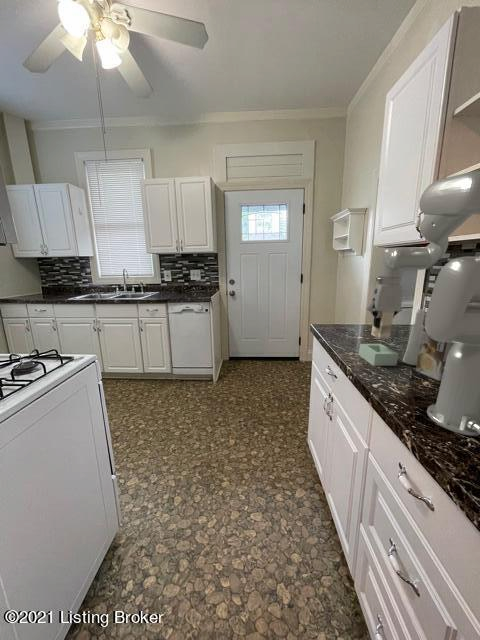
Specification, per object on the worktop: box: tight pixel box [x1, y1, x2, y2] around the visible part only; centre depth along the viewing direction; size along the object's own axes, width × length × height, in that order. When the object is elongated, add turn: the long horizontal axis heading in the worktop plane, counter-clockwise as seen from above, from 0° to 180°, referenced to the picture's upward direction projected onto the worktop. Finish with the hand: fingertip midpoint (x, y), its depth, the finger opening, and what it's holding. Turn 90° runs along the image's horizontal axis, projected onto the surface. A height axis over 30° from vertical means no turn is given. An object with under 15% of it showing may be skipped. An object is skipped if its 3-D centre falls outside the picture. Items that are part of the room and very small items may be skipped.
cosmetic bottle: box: [402, 309, 426, 366], centre depth 106 cm, size 6×6×22 cm
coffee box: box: [415, 330, 455, 382], centre depth 96 cm, size 9×6×16 cm
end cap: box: [358, 343, 399, 367], centre depth 110 cm, size 12×10×5 cm
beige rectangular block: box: [370, 309, 394, 340], centre depth 106 cm, size 6×4×12 cm, turn 5°
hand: (381, 326), depth 107 cm, fingers closed on beige rectangular block, 4 cm apart
